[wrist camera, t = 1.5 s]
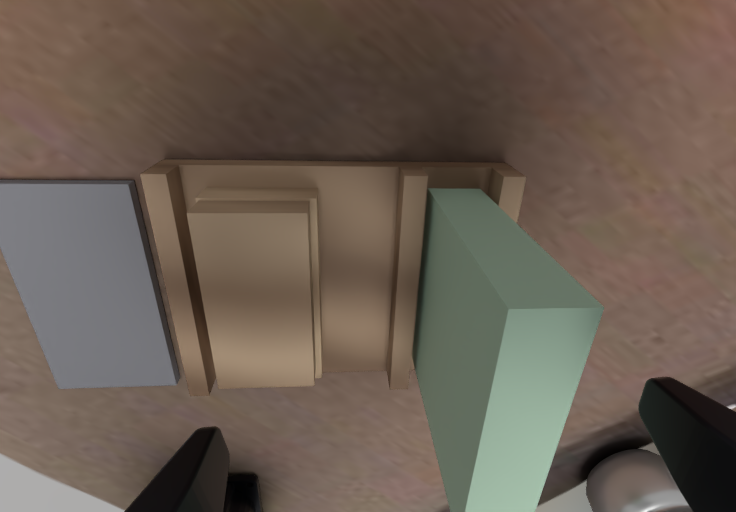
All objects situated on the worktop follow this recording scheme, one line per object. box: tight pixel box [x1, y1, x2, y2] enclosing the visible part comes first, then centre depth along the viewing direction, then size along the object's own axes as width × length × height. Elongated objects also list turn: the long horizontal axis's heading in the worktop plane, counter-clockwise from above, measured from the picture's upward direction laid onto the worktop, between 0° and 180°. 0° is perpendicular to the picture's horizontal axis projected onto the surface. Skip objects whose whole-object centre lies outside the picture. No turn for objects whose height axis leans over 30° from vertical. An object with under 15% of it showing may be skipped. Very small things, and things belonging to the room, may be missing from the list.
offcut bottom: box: [195, 187, 323, 378], centre depth 20 cm, size 10×5×2 cm, turn 178°
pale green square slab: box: [412, 188, 604, 512], centre depth 17 cm, size 10×2×10 cm, turn 178°
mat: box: [0, 180, 180, 389], centre depth 21 cm, size 12×6×1 cm, turn 178°
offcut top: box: [187, 200, 316, 389], centre depth 19 cm, size 9×5×2 cm, turn 178°
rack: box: [140, 159, 526, 396], centre depth 21 cm, size 12×16×2 cm
